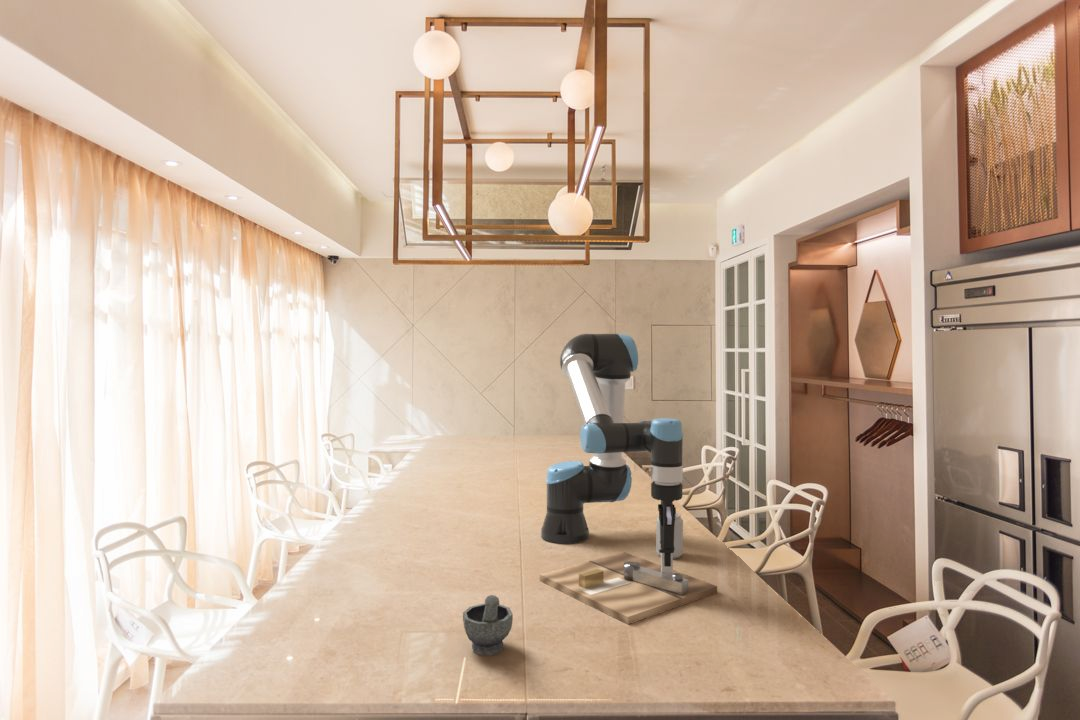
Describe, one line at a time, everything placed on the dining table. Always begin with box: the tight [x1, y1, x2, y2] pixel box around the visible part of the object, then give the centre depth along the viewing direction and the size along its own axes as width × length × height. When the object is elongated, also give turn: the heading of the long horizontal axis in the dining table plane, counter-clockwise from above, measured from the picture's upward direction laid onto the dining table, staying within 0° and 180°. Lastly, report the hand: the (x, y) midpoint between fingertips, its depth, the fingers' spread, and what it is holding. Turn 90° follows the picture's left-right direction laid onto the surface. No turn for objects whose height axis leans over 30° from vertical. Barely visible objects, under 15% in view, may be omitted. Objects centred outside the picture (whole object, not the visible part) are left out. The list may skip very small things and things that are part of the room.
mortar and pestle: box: [462, 594, 514, 656], centre depth 121 cm, size 11×9×12 cm
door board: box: [539, 551, 718, 625], centre depth 154 cm, size 32×30×5 cm
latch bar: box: [624, 561, 688, 595], centre depth 151 cm, size 17×4×4 cm, turn 47°
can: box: [655, 512, 684, 560], centre depth 178 cm, size 8×8×12 cm
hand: (666, 577), depth 152 cm, fingers closed
